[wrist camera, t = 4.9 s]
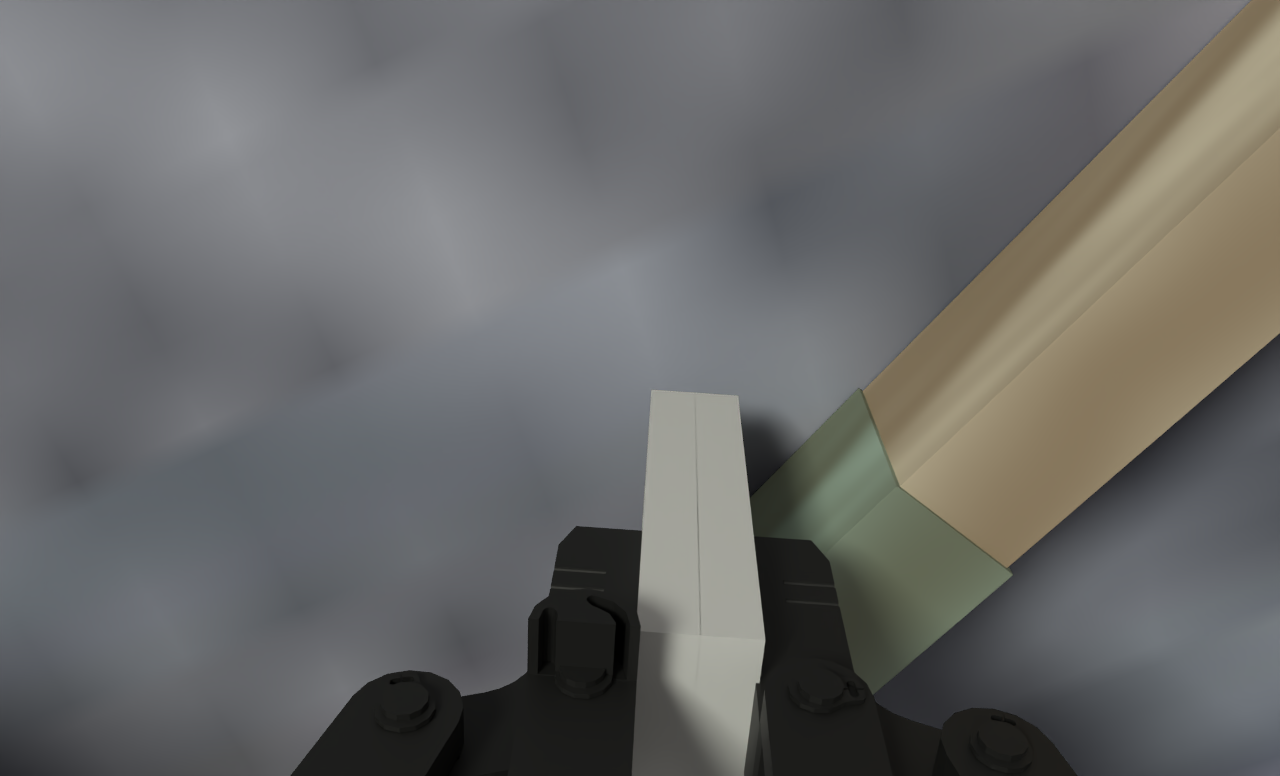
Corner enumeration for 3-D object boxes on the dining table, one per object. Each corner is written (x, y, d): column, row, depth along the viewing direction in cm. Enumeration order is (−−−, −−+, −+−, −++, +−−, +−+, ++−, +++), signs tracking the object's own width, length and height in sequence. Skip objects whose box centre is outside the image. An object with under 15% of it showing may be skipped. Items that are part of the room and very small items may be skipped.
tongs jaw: (719, 528, 21) (730, 677, 17) (1658, -419, 14) (2049, -546, 10) (869, 634, 22) (913, 798, 18) (1813, -203, 15) (2225, -240, 11)
